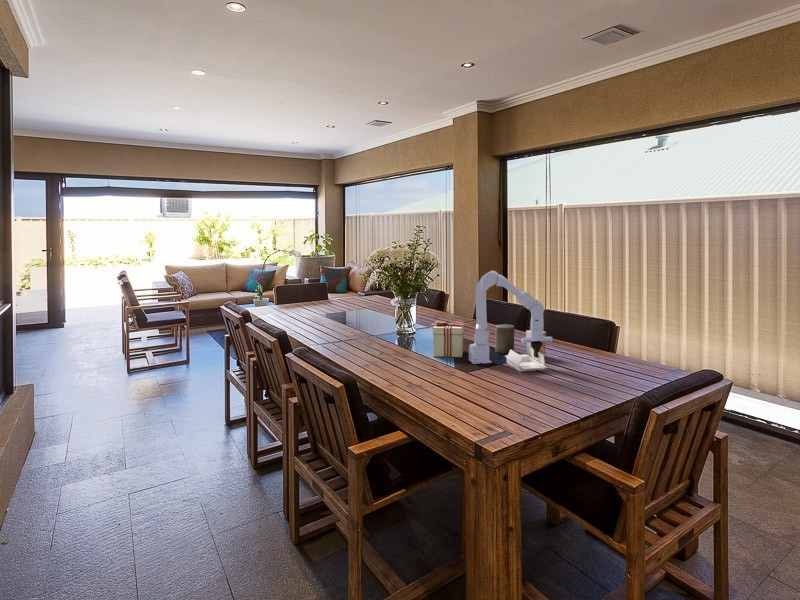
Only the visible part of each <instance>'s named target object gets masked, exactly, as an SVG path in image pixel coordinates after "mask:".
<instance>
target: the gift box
mask: <svg viewBox="0 0 800 600" xmlns="http://www.w3.org/2000/svg"><path fill="white" fill-rule="evenodd" d="M430 325H431V326H433V327H432V336H433V345H432V346H433V357H436V358H437V357H438V358H439V357H440V358H441V357H442V358H462V357H463V353H464V330H465V329H464V327H465V326H464V325H465V322H463V321H459V320H456V321H452V322H447V321H444V320H436V321H434V323H431V324H430Z"/></svg>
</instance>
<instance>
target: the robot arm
mask: <svg viewBox="0 0 800 600" xmlns="http://www.w3.org/2000/svg"><path fill="white" fill-rule="evenodd" d="M492 286H496V287H503V288H505V289H506V290H507V291H508V292H510V293H511V294H512V295H514V297H516V300H517V301H516V302H517V303H519V304H521V305H522V307H524V308H526V309H527V310H529V311H530V313H531V314H530V315H531V318H530V330H531V334H530V337H527V338H526V337H523V338H522V337H521V339H520V343H522V344H526V343H528V342H531V345H532V347H533V349H534V357H535V358H538V352H539V350H540V348H541V346H542V343H541V342H545V341H546V342H553V336H546V337H543V331H544V321H545V320H544V312H545V308H544V307H545V306H544V304H543V303H542V302H541V301H539V300H538V299H536V298H534V297H533V296H532V295H531V293H530V292H529V291H528V292H527V291H521V289H519V287H517V286H515V285H514V284H513V283H512V282H511V281H510V280H508V279H507V278H506V277H505V276H504V275H502V274H499V272H497V271H496V270H490V271H489V272H486V273H485V274H484V275H482V276H481V278H480V279H479V281H478V283H477V284H476V286H475V317H476V320H475V321H476V325H475V333H474V335H473V343H470V344H469V346H468V361H470V362H471V364H473V365H477V364H478V365H479V364H480V363H481V364H491V363H493V361H492V360H490V341H489V339H490V336H491V335H490V334H491V333H490V331H489V327H488V320H487V319H488V318H487V291H488V290H489V288H491V287H492ZM481 364H480V365H481Z"/></svg>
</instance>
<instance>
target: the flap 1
mask: <svg viewBox="0 0 800 600" xmlns="http://www.w3.org/2000/svg"><path fill="white" fill-rule="evenodd" d="M507 355H508V356H507V357H506V359H507V358H508V359H509V360H510V361H512V362H513V363H515V364H516V365H518V366H519V365H520V363H521V360H522V358H523V357H522V356H521V355H522V354H519V353H517V352H516V351H515V350H514V351H513V350H511V349H510V351H509V353H508V354H507Z"/></svg>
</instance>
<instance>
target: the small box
mask: <svg viewBox="0 0 800 600" xmlns="http://www.w3.org/2000/svg"><path fill="white" fill-rule="evenodd" d="M530 334H531V329H530V330H525V338H527V337H530ZM543 337H547V332H546V331H544V330H543ZM541 343H542V346H541V348H540V350H539V352H540V353H541V354H543V355H544V357H545V358H546V348H547V347H546V346H547V341H545V342H541ZM530 347H531V348H532V349H533V347H532V345H531V342H528V343H525V350H524V351H525V353H524V354H526V355H528V356H529V357H531V352H530ZM532 358H533V357H532ZM533 359H534V358H533Z"/></svg>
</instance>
